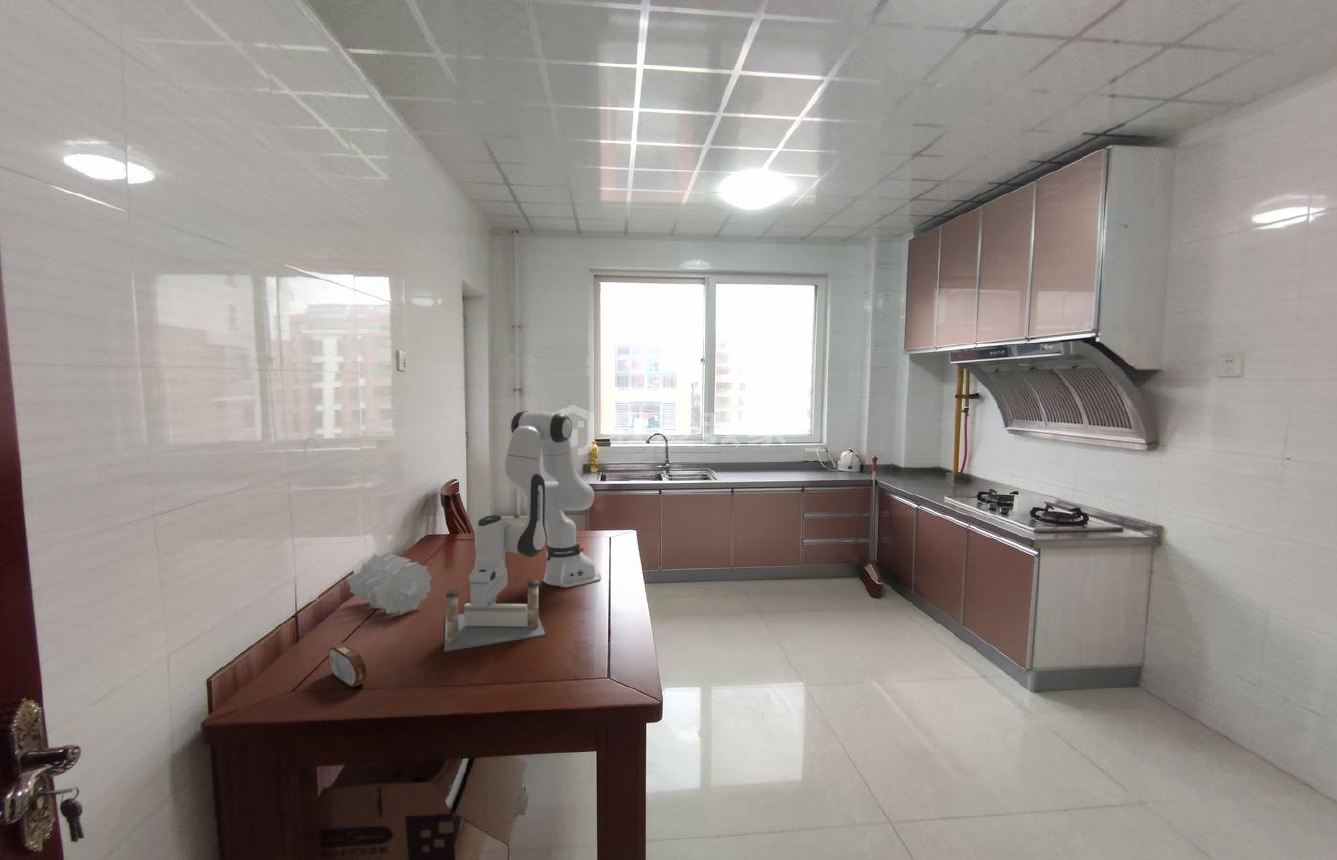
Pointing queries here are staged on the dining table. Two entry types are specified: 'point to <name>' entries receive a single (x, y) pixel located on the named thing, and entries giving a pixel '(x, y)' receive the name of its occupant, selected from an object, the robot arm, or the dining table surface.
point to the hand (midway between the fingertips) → (490, 611)
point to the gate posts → (453, 610)
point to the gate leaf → (496, 615)
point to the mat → (489, 634)
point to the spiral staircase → (391, 583)
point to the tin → (347, 665)
